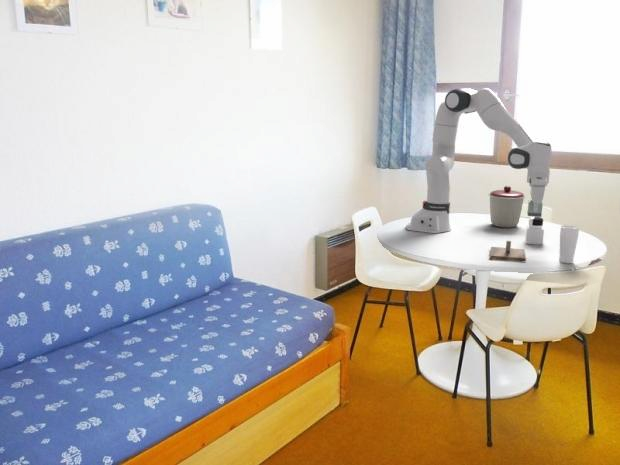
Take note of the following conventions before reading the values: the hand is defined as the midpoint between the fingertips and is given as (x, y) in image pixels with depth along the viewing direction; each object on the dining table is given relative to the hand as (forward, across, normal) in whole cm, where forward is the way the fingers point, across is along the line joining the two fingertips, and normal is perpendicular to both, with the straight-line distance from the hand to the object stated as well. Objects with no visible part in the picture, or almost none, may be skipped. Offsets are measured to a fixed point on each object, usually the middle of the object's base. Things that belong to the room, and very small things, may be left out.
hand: (534, 210), depth 245 cm
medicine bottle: (+19, -14, +2) cm, 23 cm away
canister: (+19, -44, -11) cm, 49 cm away
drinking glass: (+18, +14, +13) cm, 27 cm away
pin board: (+18, +12, -10) cm, 24 cm away
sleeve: (+2, 0, 0) cm, 2 cm away
